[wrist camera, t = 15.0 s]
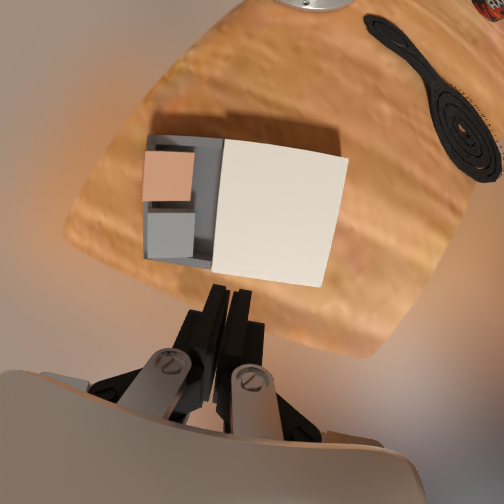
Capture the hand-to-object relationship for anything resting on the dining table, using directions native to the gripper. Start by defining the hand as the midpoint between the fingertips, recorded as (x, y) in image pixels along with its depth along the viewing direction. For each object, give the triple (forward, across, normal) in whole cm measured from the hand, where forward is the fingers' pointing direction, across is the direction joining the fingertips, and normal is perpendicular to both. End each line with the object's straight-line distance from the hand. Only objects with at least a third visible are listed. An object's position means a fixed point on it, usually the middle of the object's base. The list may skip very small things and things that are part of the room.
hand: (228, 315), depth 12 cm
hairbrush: (+22, -19, -18) cm, 34 cm away
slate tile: (+17, +8, +4) cm, 19 cm away
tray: (+20, +8, +1) cm, 22 cm away
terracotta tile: (+17, +9, -2) cm, 19 cm away
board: (+20, -2, 0) cm, 20 cm away
